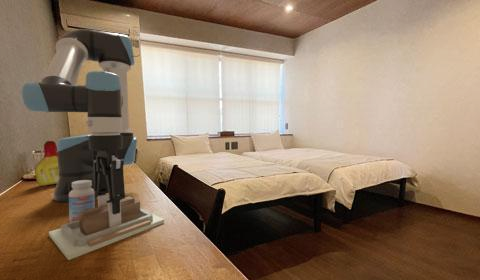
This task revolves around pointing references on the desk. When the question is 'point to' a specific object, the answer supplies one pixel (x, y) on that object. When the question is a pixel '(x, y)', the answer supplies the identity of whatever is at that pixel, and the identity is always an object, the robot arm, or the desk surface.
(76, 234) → the tray
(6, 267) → the desk surface
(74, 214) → the pill bottle
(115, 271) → the desk surface
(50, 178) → the bottle
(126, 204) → the brown block
